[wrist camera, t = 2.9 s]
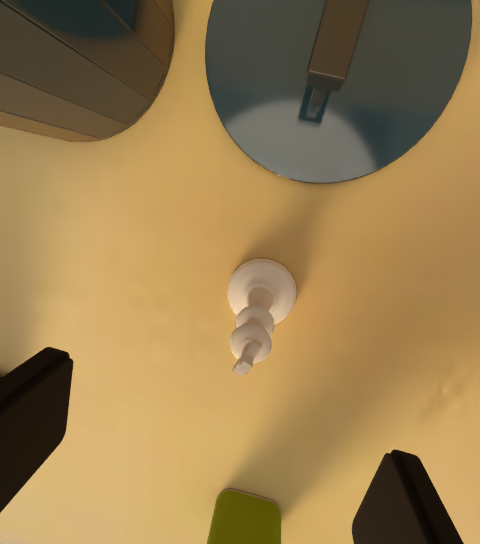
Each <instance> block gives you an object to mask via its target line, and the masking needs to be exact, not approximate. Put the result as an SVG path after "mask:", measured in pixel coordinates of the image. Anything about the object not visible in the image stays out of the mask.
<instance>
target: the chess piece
mask: <svg viewBox="0 0 480 544" xmlns="http://www.w3.org/2000/svg"><path fill="white" fill-rule="evenodd" d="M296 296H297V289H296V284H295V281H294V278H293V277H292V275H291V273H290V272H289V271H288V270H287V269H286V268H285V267H284V266H283V265H281V264H280V263H278V262H276V261H273V260H269V259H253V260H250V261H247V262H245V263H243V264H242V265H240V266H239V267H238V268H237V269H236V270H235V271H234V273H233V274H232V276H231V278H230V280H229V284H228V301H229V304H230V306H231V308H232V310H233V312H234V313H235V314H236V315H237V317H236V329H235V330H234V332H233V333H232V335H231V337H230V348H231V351H232V353H233V354H234V356H235V357H236V358H238V359H239V360H238V361H237V362H236V364H235V365H234V368H233V372H235V373H236V374H238V375H240V376H241V375H242V374H243V373H246V374H247V373H248V372H249V371H250V369H251V368H252V366H253V363H258V362H261V361H263V360H264V359H265V358H266V357H267V356H268V355H269V353H270V351H271V347H272V342H271V338H270V335H271V334H272V332H273V330H274V325H275V324H277V323H279V322H281V321H282V320H283V319H285V318H286V317H287V316H288V315H289V313H290V312H291V311H292V309H293V307H294V304H295V301H296Z"/></svg>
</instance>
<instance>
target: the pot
mask: <svg viewBox="0 0 480 544" xmlns="http://www.w3.org/2000/svg"><path fill="white" fill-rule="evenodd" d="M173 40H174V15H173V6H172V0H0V126H3V127H7V128H12V129H16V130H21V131H25V132H30V133H34V134H39V135H43V136H48V137H52V138H57V139H61V140H66V141H70V142H91V141H99V140H102V139H106V138H109V137H112V136H114V135H116V134H118V133H121V132H122V131H124V130H125V129H127V128H128V127H130V126H131V125H133V124H134V123H135V122H136V121H137V120H138V119H139V118H141V117H142V115H143V114H144V113H145V112H146V111H147V110H148V108H149V107H150V106H151V104H152V103H153V101H154V100H155V98H156V97H157V95H158V93H159V91H160V89H161V87H162V85H163V83H164V80H165V77H166V74H167V71H168V69H169V65H170V60H171V55H172V50H173Z"/></svg>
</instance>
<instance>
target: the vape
mask: <svg viewBox="0 0 480 544" xmlns="http://www.w3.org/2000/svg"><path fill="white" fill-rule="evenodd" d="M207 544H281V510H280V507H279V506H278V504H277V503H276V502H274V501H273V500H270V499H266V498H263V497H259V496H256V495H253V494H249V493H246V492H242V491H239V490H235V489H226V490H224V491H222V492H221V493H220V494H219V496H218V497H217V500H216V504H215V509H214V514H213V518H212V523H211V527H210V532H209V536H208V541H207Z"/></svg>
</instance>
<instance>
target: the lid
mask: <svg viewBox="0 0 480 544" xmlns="http://www.w3.org/2000/svg"><path fill="white" fill-rule="evenodd" d="M471 26H472V4H471V0H214V1H213V4H212V8H211V12H210V16H209V20H208V26H207V34H206V42H205V63H206V73H207V80H208V85H209V90H210V94H211V97H212V100H213V103H214V106H215V109H216V112H217V114H218V116H219V118H220V120H221V122H222V124H223V126H224V127H225V129H226V130H227V132H228V133H229V135H230V136H231V138H232V139H233V140H234V142H235V143H236V144H237V145H238V146H239V147H240V149H241V150H242V151H243V152H244V153H245V154H247V155H248V156H249V157H250V158H251V159H252V160H253V161H255V162H256V163H258V164H259V165H261V166H262V167H264V168H265V169H267V170H269V171H271V172H273V173H275V174H277V175H279V176H282V177H285V178H288V179H291V180H294V181H299V182H305V183H317V184H327V183H338V182H344V181H348V180H353V179H357V178H360V177H362V176H365V175H368V174H371V173H373V172H375V171H377V170H379V169H381V168H383V167H385V166H387V165H389V164H390V163H392V162H393V161H395V160H396V159H398V158H399V157H401V156H402V155H403V154H405V153H406V152H407V151H408V150H409V149H411V148H412V147H413V146H414V145H415V144H417V143H418V141H419V140H420V139H421V138H422V137H423V136H424V135H425V134H426V133H427V132H428V131H429V130H430V129H431V127H432V126H433V125H434V123H435V122H436V121H437V119H438V118H439V117H440V116H441V114H442V112H443V111H444V109H445V107H446V106H447V104H448V102H449V101H450V99H451V97H452V95H453V93H454V91H455V89H456V86H457V84H458V82H459V80H460V77H461V74H462V71H463V68H464V65H465V62H466V58H467V53H468V49H469V44H470V38H471Z"/></svg>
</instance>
